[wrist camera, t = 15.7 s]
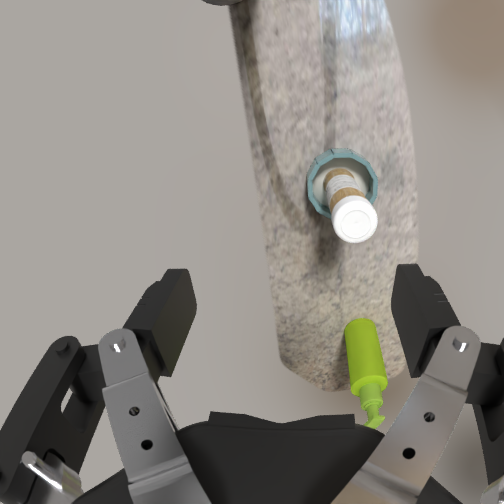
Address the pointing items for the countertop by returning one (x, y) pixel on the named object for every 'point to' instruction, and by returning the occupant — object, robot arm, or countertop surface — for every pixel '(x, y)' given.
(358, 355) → the soap dispenser
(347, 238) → the sprinkles bottle
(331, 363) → the countertop surface
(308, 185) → the teal bowl
